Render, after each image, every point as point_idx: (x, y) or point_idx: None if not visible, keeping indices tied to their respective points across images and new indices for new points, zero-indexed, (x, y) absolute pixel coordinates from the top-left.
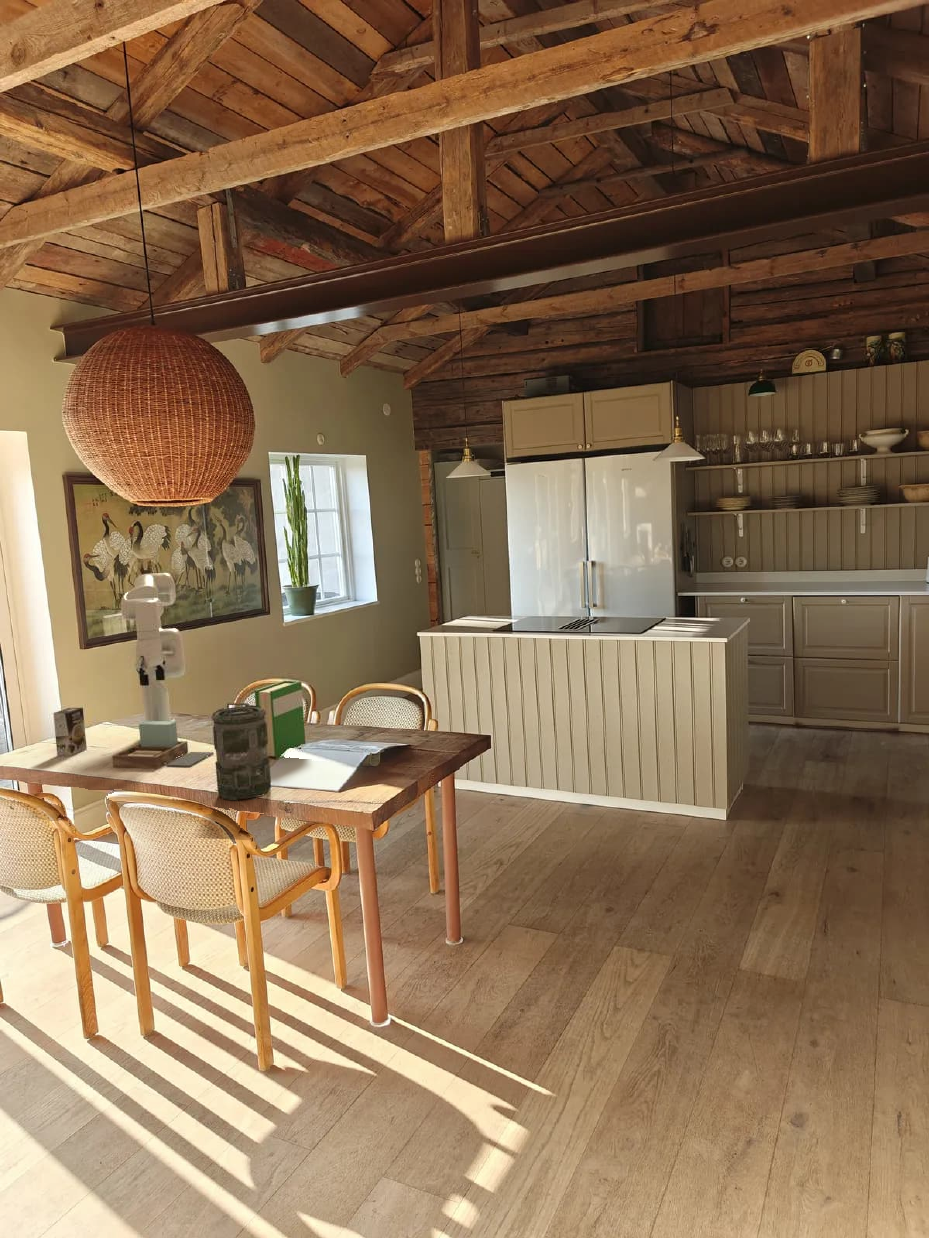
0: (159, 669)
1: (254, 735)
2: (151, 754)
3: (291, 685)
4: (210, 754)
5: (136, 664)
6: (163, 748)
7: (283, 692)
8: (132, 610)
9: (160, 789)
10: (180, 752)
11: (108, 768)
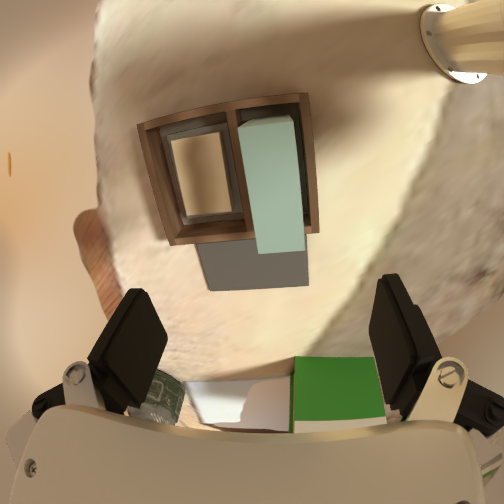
0: (404, 388)
1: None
2: (198, 203)
3: None
4: (294, 285)
5: (17, 443)
6: (243, 208)
7: None
8: None
9: (111, 303)
10: None
11: (141, 117)
